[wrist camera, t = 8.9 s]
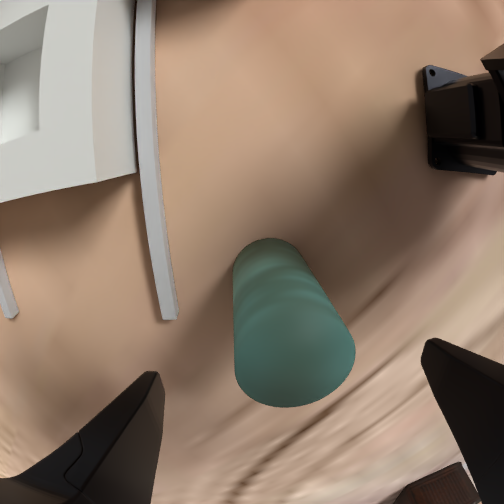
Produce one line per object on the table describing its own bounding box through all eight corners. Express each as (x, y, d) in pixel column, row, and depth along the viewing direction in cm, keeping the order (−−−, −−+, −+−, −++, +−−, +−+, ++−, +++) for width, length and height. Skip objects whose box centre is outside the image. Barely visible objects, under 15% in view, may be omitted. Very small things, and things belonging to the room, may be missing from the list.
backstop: (267, -44, 11) (279, -93, 6) (287, 303, 17) (305, 355, 13) (-56, 66, 10) (-94, 62, 5) (-31, 309, 16) (-65, 337, 12)
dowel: (304, 235, 16) (362, 306, 9) (304, 301, 18) (347, 398, 10) (229, 240, 16) (229, 320, 9) (235, 307, 17) (239, 412, 10)
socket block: (135, -9, 11) (107, -53, 6) (137, 172, 14) (96, 182, 10) (-7, 48, 10) (-53, 36, 6) (-7, 201, 14) (-58, 220, 9)
